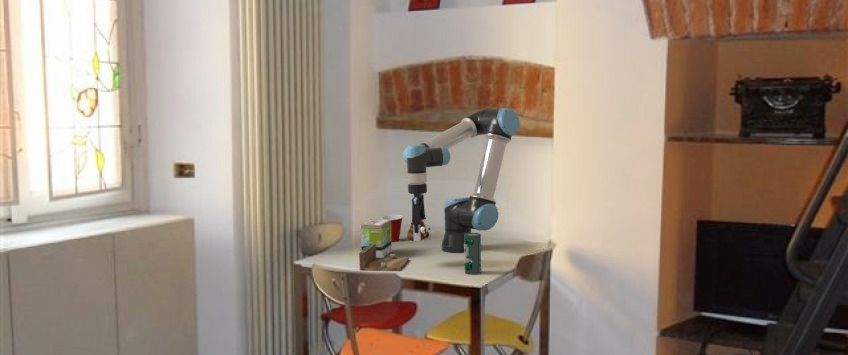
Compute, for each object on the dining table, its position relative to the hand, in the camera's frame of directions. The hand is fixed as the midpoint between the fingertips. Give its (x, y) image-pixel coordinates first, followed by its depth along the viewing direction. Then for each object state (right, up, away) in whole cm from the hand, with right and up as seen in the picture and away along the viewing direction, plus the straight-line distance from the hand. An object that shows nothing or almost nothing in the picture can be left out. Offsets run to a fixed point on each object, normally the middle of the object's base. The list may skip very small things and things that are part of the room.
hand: (419, 238), depth 301 cm
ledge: (-14, -11, +2) cm, 18 cm away
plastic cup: (-13, -6, +56) cm, 57 cm away
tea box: (-19, -9, +23) cm, 31 cm away
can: (+21, -12, -15) cm, 28 cm away
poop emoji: (0, 0, 0) cm, 1 cm away
